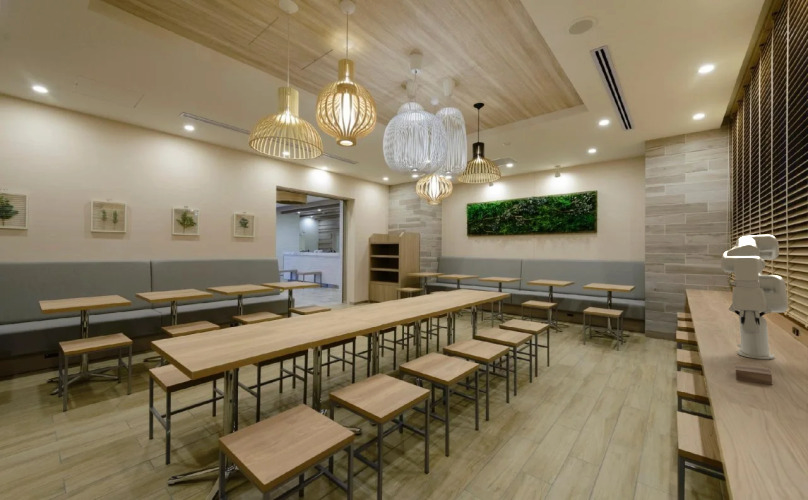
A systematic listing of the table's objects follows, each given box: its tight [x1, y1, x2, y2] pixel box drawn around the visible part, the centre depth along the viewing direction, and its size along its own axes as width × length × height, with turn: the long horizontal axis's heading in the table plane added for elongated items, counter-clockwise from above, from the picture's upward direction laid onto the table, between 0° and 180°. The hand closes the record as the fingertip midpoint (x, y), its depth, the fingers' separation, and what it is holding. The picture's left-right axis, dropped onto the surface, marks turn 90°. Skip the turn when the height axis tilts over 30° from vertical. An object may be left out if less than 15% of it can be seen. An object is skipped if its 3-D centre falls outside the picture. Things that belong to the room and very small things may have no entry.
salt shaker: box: [742, 310, 761, 334], centre depth 146 cm, size 6×6×13 cm
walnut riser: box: [735, 363, 773, 386], centre depth 138 cm, size 10×10×4 cm
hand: (750, 325), depth 146 cm, fingers closed on salt shaker, 3 cm apart
